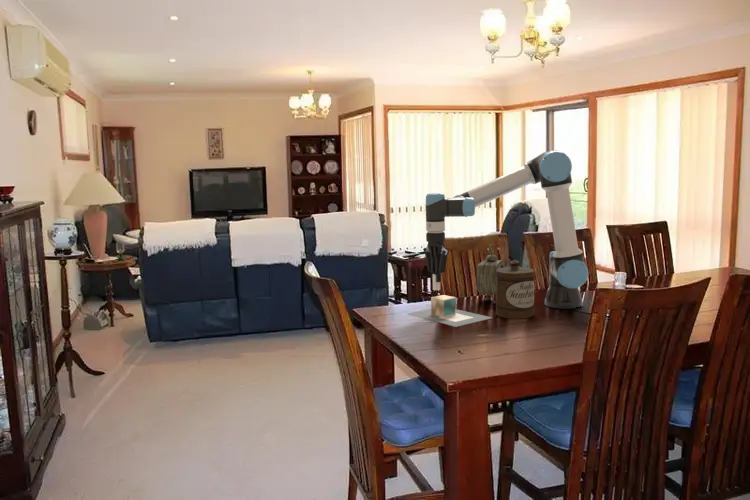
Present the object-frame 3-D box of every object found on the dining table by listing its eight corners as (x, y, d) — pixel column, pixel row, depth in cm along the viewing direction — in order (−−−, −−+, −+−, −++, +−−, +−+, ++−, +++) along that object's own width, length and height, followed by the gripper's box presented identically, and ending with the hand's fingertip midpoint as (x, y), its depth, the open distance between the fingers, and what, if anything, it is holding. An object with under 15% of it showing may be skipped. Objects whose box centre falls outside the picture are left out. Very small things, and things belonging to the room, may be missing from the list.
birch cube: (444, 311, 268) (456, 314, 263) (431, 314, 264) (443, 317, 258) (443, 294, 267) (455, 297, 262) (431, 297, 263) (443, 300, 258)
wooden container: (512, 320, 251) (512, 264, 248) (488, 313, 264) (488, 259, 261) (542, 315, 258) (542, 260, 255) (517, 308, 271) (517, 256, 268)
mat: (492, 318, 256) (492, 317, 256) (455, 327, 244) (455, 326, 244) (442, 306, 278) (442, 306, 278) (406, 314, 266) (406, 313, 266)
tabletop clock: (496, 305, 279) (496, 246, 275) (476, 303, 283) (475, 246, 279) (505, 298, 292) (505, 242, 288) (485, 296, 295) (485, 242, 292)
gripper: (417, 231, 265) (418, 288, 268) (439, 233, 255) (440, 293, 258) (431, 229, 269) (432, 286, 273) (453, 232, 259) (454, 290, 262)
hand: (436, 289), depth 265 cm, fingers closed
